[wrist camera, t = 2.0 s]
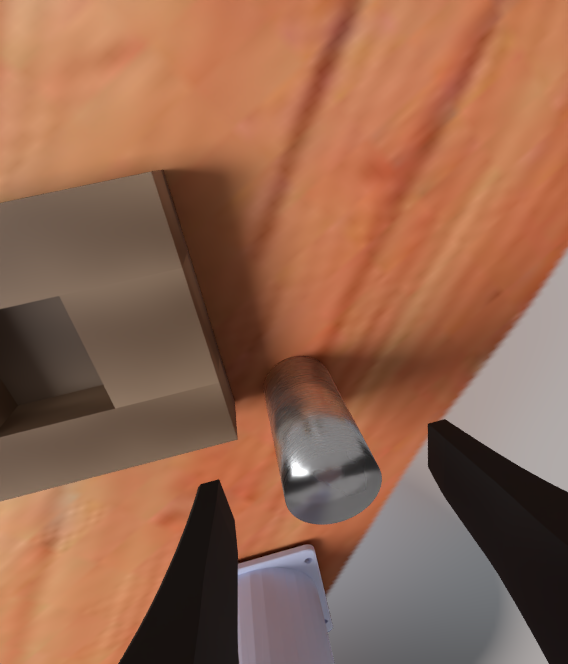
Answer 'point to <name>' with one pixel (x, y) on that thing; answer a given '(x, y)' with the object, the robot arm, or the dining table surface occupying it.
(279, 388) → the pin
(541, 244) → the dining table surface
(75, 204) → the bore block
